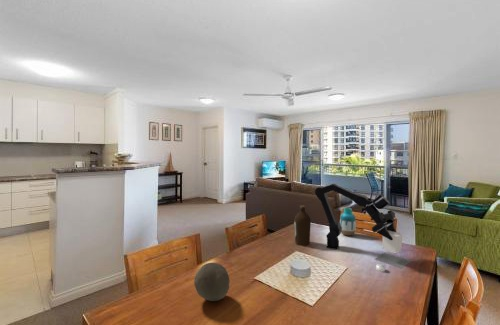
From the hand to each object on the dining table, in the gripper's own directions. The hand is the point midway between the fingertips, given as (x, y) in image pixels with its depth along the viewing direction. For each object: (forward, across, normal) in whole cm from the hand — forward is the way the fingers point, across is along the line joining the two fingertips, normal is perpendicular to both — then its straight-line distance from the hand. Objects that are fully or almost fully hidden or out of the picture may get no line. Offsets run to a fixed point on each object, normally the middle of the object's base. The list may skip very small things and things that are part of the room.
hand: (394, 238), depth 135 cm
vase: (-18, +22, +37) cm, 47 cm away
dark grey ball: (-15, -94, +35) cm, 101 cm away
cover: (+4, 0, +6) cm, 7 cm away
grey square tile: (+9, +1, +10) cm, 14 cm away
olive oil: (-26, -16, +46) cm, 55 cm away
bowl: (+9, -16, +10) cm, 21 cm away
